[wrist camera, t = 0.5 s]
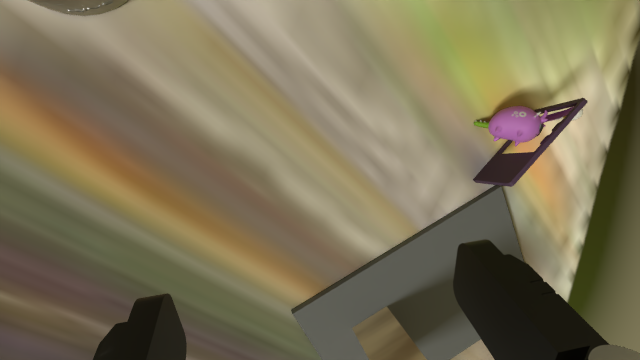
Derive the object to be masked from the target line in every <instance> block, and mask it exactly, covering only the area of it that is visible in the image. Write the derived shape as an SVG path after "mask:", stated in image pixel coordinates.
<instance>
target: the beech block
mask: <svg viewBox="0 0 640 360" xmlns="http://www.w3.org/2000/svg"><path fill="white" fill-rule="evenodd" d="M352 329H353V331H354V333H355V335H356V337H357V338H358V340H359V342H360V344H361V346H362V347H363V349H364V351H365V353H366V355H367V357H368V358H369V360H427V359H426V358H425V357H424V355H423V354H422V353H421V351H420V350H419V349H418V347H417V346H416V345H415V343H414V342H413V341H412V339H411V338H410V337H409V335H408V334H407V333H406V331H405V330H404V329H403V327H402V326H401V325H400V323H399V322H398V321H397V319H396V318H395V317H394V315H393V314H392V313H391V311H390V310H389V309H388V307H387V306H386V307H385V308H383V309H381V310H380V311H378V312H377V313H375V314H373V315H372V316H370V317H369V318H367V319H366V320H364V321H362V322H361V323H359V324H358V325H356V326H354V327H353V328H352Z"/></svg>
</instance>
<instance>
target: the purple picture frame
mask: <svg viewBox="0 0 640 360" xmlns="http://www.w3.org/2000/svg"><path fill="white" fill-rule="evenodd" d="M586 103H587V100H586V99H584V98H581V99H577V100H573V101H569V102H565V103H561V104H557V105H553V106H548V107H544V108H540V109H536V110H534V111H533V110H532V109H530V108H528V107H524V106H513V107H508V108H505V109H502V110H500V111H499V112H497V113H496V114H495V115H494V116H493V117H492V119H491V120H490V122H485V121H484V122H482V120H480V122H477V120H475V122H474V125H476V126H479V127H483V128H488V129H489V132H490V133H491V134H492V135H493V136H495V138H494V141H497V140H498V139H499V138H502V139H508V141H507V142H506V143H505V144H504V145H503V146H502V147H501V148H500V150H499V151H498V152H497V153H496V154H495V155H494V156H493V158H492V159H491V160H490V161H489V162H488V163H487V164H486V165H485V167H484V168H483V169H482V170H481V171H480V172H479V173H478V174H477V176H476V177H475V178H474V179H473V180H474V181H475V182H476V183H484V184H493V185H502V186H513V185H514V184H515V183H516V182H517V181H518V180H519V179H520V178H521V177H522V175H523V174H524V173H525V172H526V171H527V170H528V169H529V168H530V166H531V165H532V164H533V163H534V162H535V161H536V160H537V159H538V157H539V156H540V155H541V154H542V153H543V152H544V151H545V150H546V148H547V147H548V146H549V145H550V144H551V143H552V142H553V141H554V140H555V138H556V137H557V136H558V135H559V134H560V133H561V131H562V130H563V129H564V128H565V127H566V126H567V125H568V124H569V123H570V121H571V120H576V119H579V118H580V117H581V116H582V114H583V109H582V108H583V107H584V106H585V104H586ZM573 106H574V107H573ZM569 107H571V108H569ZM564 108H569V109H567V110H564V111H561V112H557V113H554V114H550V115H547V114H548V113H547V112H551V111H555V110H560V109H564ZM542 113H544V115H543V116H541V117H540V116H539V114H542ZM562 118H564V119H563V120H562V121H561V122H559V123H558V124H557V125H556V126H555V127H554V128H553V129H552V133H551V134H550V135H548V136H546V137H545V138H544V139H543V141H542V142H541V143H540V144H541V145H540V146H539V147H538V148H537V149H536V151H535V152H528V153H510V154H502V153H503V152H504V150H505V149H506V148H507V147H508V146H509V145H510V144H511V143H512V141H515V146H517V145H518V144H519V143H520V142H527V141H530V140H532V139H533V138H535V137H536V136H538V135H539V134H540V133H541V131H542V129H543V127H545V125H544V124H543V123H544V122H547V121H552V120H557V119H562Z"/></svg>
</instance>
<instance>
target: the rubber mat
mask: <svg viewBox="0 0 640 360" xmlns="http://www.w3.org/2000/svg"><path fill="white" fill-rule="evenodd" d="M484 239H487V240H490V241H491V242H492V243H493V244H494V245H495V246H496V247H497V248H498V249H499V250H500V251H501V252H502V253H503V254H504V255H507V254H511V255H512V256H514V257H516V258H518V259H519V260H521V261H523V262H524V260H523V257H522V254H521V250H520V247H519V244H518V240H517V237H516V234H515V230H514V227H513V224H512V220H511V217H510V214H509V210H508V207H507V204H506V200H505V197H504V194H503V191H502V187H501V186H499V185H496V186H494V187H492V188H491V189H489V190H488V191H486V192H484V193H483V194H481V195H479V196H478V197H476V198H474V199H473V200H471V201H470V202H468V203H466V204H465V205H463V206H461V207H460V208H458V209H456V210H455V211H453V212H451V213H450V214H448V215H447V216H445V217H443V218H442V219H440V220H438V221H437V222H435V223H433V224H432V225H430V226H429V227H427V228H425V229H424V230H422V231H420V232H419V233H417V234H415V235H414V236H412V237H410V238H409V239H407V240H406V241H404V242H402V243H401V244H399V245H397V246H396V247H394V248H392V249H391V250H389V251H388V252H386V253H384V254H383V255H381V256H379V257H378V258H376V259H374V260H373V261H371V262H369V263H368V264H366V265H365V266H363V267H361V268H360V269H358V270H356V271H355V272H353V273H351V274H350V275H348V276H347V277H345V278H343V279H342V280H340V281H338V282H337V283H335V284H333V285H332V286H330V287H328V288H327V289H325V290H324V291H322V292H320V293H319V294H317V295H315V296H314V297H312V298H310V299H309V300H307V301H306V302H304V303H302V304H301V305H299V306H297V307H296V308H294V309H292V310H291V311H292V314H293V315H294V317H295V319H296V320H297V322H298V323H299V325H300V326H301V328H302V329H303V331H304V332H305V334H306V335H307V337H308V339H309V340H310V342H311V343H312V345H313V346H314V348H315V349H316V351H317V352H318V354H319V356H320V357H321V359H322V360H369V358H368V357H367V355H366V353H365V351H364V349H363V347H362V346H361V344H360V342H359V340H358V338H357V337H356V335H355V333H354V331H353V329H352V328H353V327H354V326H356V325H358V324H359V323H361V322H362V321H364V320H366V319H367V318H369V317H370V316H372V315H373V314H375V313H377V312H378V311H380V310H381V309H383V308H385V307H386V306H387V307H388V309H389V310H390V311H391V313H392V314H393V315H394V317H395V318H396V319H397V321H398V322H399V323H400V325H401V326H402V327H403V329H404V330H405V331H406V333H407V334H408V335H409V337H410V338H411V339H412V341H413V342H414V343H415V345H416V346H417V347H418V349H419V350H420V351H421V353H422V354H423V355H424V357H425V358H426V359H427V360H450V359H452V358H453V357H455V356H456V355H458V354H459V353H461V352H462V351H464V350H465V349H467V348H468V347H470V346H471V345H473V344H474V343H476V342H477V341H479V340H480V339H481V338H480V336H479V335H478V333H477V332H476V330H475V329H474V327H473V326H472V324H471V323H470V321H469V320H468V318H467V317H466V315H465V314H464V312H463V311H462V309H461V308H460V306H459V304H458V302H457V300H456V298H455V295H454V290H453V279H454V272H455V264H456V257H457V249H458V246H459V245H460V244H461V243H467V242H472V241H478V240H484Z"/></svg>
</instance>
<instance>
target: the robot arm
mask: <svg viewBox="0 0 640 360" xmlns="http://www.w3.org/2000/svg"><path fill="white" fill-rule="evenodd" d="M28 1H31V2H33V3H36V4H38V5H40V6H43V7H45V8H48V9H51V10H54V11H58V12H61V13H64V14H70V15H80V16H87V15H97V14H102V13H105V12H108V11H111V10H114V9H116V8H117V7H119V6H121V5H122V4H124V3H125V2H127V1H128V0H28ZM453 290H454V295H455V298H456V300H457V302H458V304H459V306H460V308H461V309H462V311H463V312H464V314H465V315H466V317H467V318H468V320H469V321H470V323H471V324H472V326H473V327H474V329H475V330H476V332H477V333H478V335H479V336H480V338H481V339H482V341H483V342H484V344H485V345H486V347H487V348H488V350H489V352H490V353H491V355H492V356H493V358H494V359H495V360H640V353H638V352H636V351H633V350H631V349H628V348H625V347H621V346H617V345H610V344H608V343H607V342H606V341H605V340H604V339H603V338H602V337H601V336H600V335H599V334H598V333H597V332H596V331H595V330H594V329H593V328H592V327H591V326H590V325H589V324H588V323H587V322H586V321H585V320H584V319H583V318H582V317H581V316H580V315H579V314H578V313H577V312H576V311H575V310H574V309H573V308H572V307H571V306H570V305H569V304H568V303H567V302H566V301H565V300H564V299H563V298H562V297H561V296H560V295H559V294H556V293H555V290H554V289H553V288H552V287H551V286H550V285H549V284H548V283H547V282H544V281H543V279H542V278H541V277H540V276H539V275H538V274H537V273H536V272H535V271H534V270H533V269H532V268H531V267H530V266H529V265H528V264H526V263H525V262H523V261H521V260H519V259H518V258H516V257H514V256H512V255H511V254H507V255H504V254H503V253H502V252H501V251H500V250H499V249H498V248H497V247H496V246H495V245H494V244H493V243H492V242H491V241H490V240H487V239H484V240H478V241H472V242H467V243H461V244H460V245H459V246H458V249H457V257H456V264H455V272H454V279H453ZM185 359H186V337H185V333H184V330H183V327H182V324H181V322H180V319H179V316H178V313H177V311H176V308H175V305H174V303H173V300H172V297H171V296H170V295H169V294H162V295H156V296H150V297H145V298H139V299H137V300H136V301H135V303H134V305H133V308H132V311H131V313H130V316H129V319H128V322H123V323H118V324H115V326H114V327H113V328H112V329H111V330H110V332H109V333H108V334H107V335H106V336H105V337H104V339H103V340H102V341H101V342H100V344H99V346H98V348H97V351H96V353H95V356H94V358H93V360H185Z"/></svg>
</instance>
